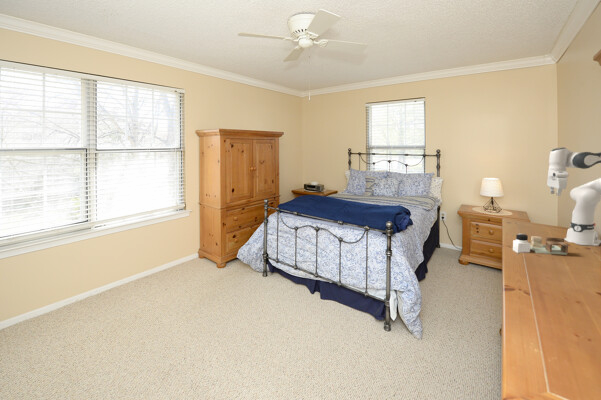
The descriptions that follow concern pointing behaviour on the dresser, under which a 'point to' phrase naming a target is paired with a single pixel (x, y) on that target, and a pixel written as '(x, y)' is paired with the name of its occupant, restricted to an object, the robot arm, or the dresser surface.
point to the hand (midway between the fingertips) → (555, 194)
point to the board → (542, 250)
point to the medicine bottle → (521, 243)
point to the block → (536, 241)
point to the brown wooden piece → (556, 241)
